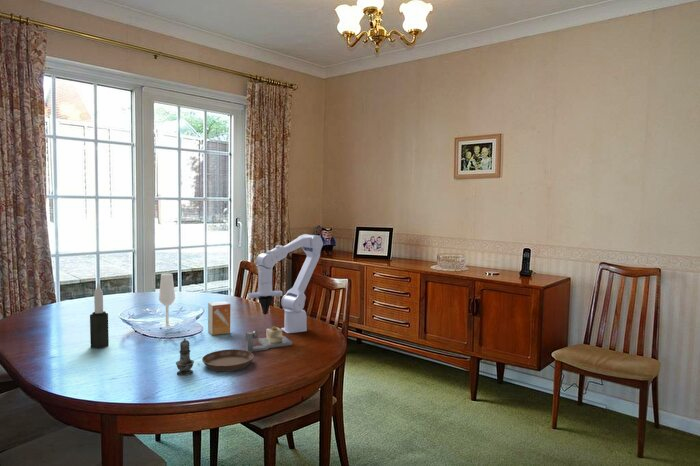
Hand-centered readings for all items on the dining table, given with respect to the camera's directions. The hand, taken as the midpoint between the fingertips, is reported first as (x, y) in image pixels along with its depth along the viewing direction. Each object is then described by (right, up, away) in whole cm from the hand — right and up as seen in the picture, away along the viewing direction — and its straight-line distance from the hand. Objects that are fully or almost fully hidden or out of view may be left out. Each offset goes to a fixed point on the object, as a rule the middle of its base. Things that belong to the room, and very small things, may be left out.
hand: (265, 313), depth 203 cm
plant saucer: (-7, -13, -32) cm, 36 cm away
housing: (+5, -10, -8) cm, 13 cm away
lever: (-3, -8, -14) cm, 16 cm away
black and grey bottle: (-61, -10, -16) cm, 64 cm away
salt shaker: (-20, -13, -41) cm, 47 cm away
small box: (-21, -9, +6) cm, 24 cm away
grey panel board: (+2, -11, -10) cm, 15 cm away
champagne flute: (-46, -8, +12) cm, 48 cm away
